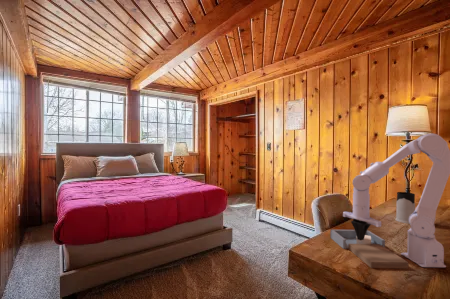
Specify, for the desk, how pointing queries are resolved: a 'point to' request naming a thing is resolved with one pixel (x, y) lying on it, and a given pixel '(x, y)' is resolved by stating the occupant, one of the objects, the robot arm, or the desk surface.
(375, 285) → the desk surface
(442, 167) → the robot arm
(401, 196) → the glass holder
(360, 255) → the platform
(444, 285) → the desk surface
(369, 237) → the tile
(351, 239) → the box
